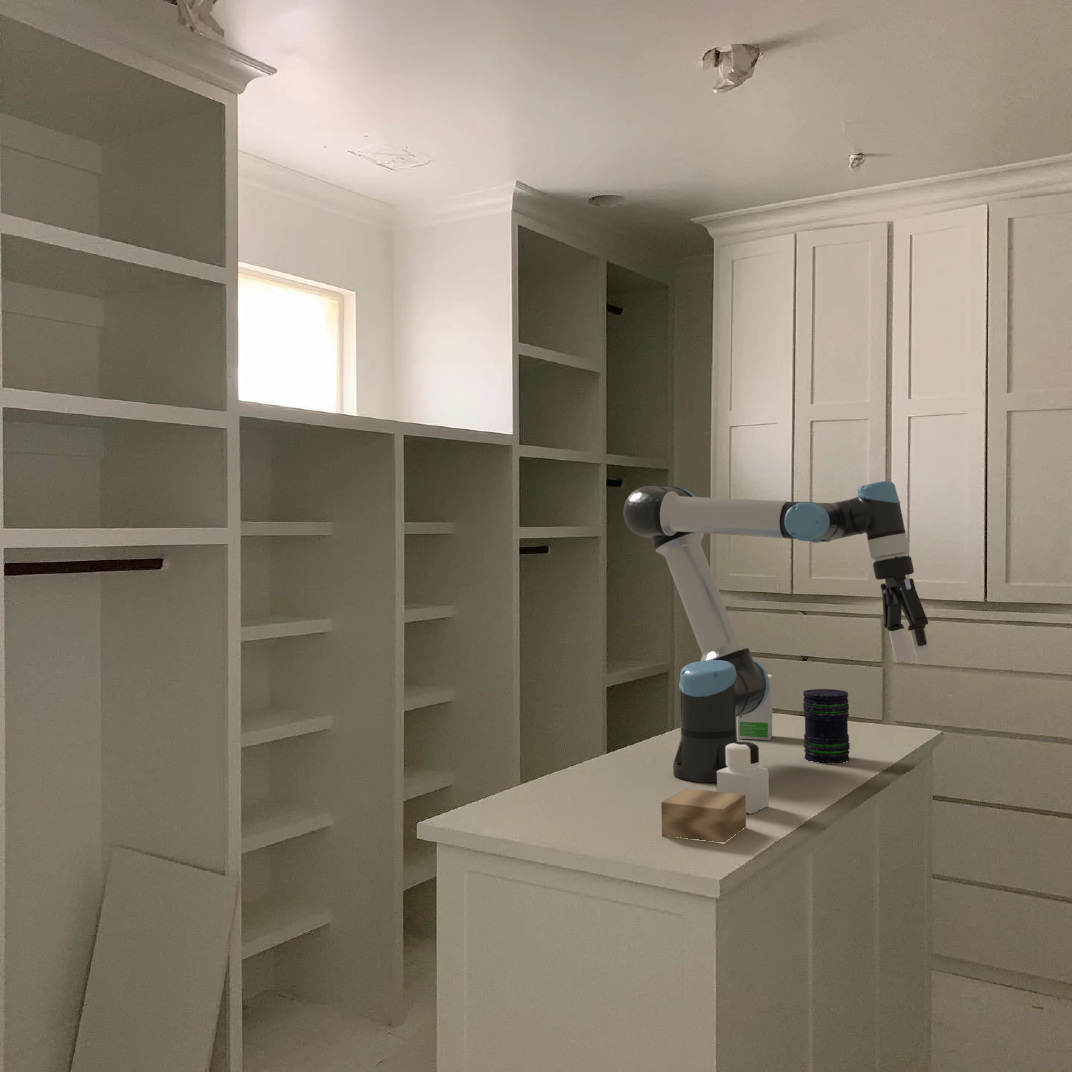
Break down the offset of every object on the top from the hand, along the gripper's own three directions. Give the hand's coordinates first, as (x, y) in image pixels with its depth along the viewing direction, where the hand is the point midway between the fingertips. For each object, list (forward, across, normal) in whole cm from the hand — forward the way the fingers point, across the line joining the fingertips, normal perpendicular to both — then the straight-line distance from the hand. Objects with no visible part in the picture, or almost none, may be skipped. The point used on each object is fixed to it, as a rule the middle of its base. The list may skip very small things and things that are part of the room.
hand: (913, 662), depth 214 cm
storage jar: (+20, +26, +15) cm, 36 cm away
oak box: (+20, -30, +50) cm, 61 cm away
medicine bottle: (+20, -14, +41) cm, 47 cm away
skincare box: (+15, +53, +26) cm, 61 cm away
